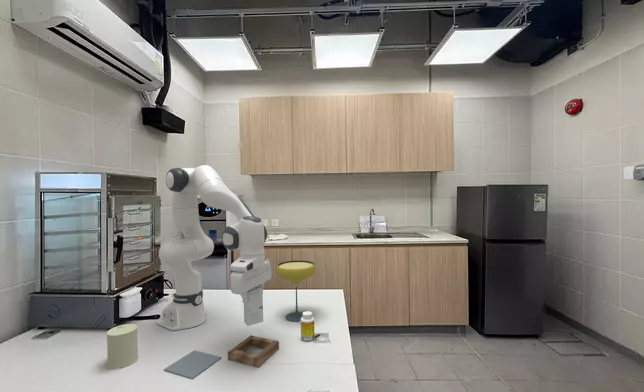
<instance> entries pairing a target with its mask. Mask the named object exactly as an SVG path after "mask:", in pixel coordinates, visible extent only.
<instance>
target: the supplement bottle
mask: <svg viewBox="0 0 644 392" xmlns="http://www.w3.org/2000/svg"><path fill="white" fill-rule="evenodd" d="M302 312H303V316H302V318H301V321H300V339H301V340H302V341H305V342H310V341H313V340H314V339H315V317H314V316H313V312H312V311H302Z"/></svg>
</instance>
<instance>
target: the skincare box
mask: <svg viewBox="0 0 644 392" xmlns="http://www.w3.org/2000/svg"><path fill="white" fill-rule="evenodd" d="M263 294H264V291H263V292H262V289H261V288H260V287H259V286H256V287H254V288H252V289H250V290H248V291H247V294H246V295H247V297H249V302H248V303H243V320H244V323H245V325H246V326H248V327H249V326H253V325H256V324H260V323H263V322H264V300H263V299H264V298H263V297H264V296H263Z"/></svg>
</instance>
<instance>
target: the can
mask: <svg viewBox="0 0 644 392" xmlns="http://www.w3.org/2000/svg"><path fill="white" fill-rule="evenodd" d="M106 345H107V346H106V351H107V360H106V361H107V364H106V367H107V368H108V369H109V370H118V369H117V368H120V369H123V368H122V367H124V368H126V366H127V367H130V366H131V365H133V364H134V363H136V362H137V361H138V359H139V353H138V324H136V323H126V324H121V325H117V326H114V327H112V328H110V329H109V330H108V331H106Z"/></svg>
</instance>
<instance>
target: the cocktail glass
mask: <svg viewBox="0 0 644 392" xmlns="http://www.w3.org/2000/svg"><path fill="white" fill-rule="evenodd" d="M315 271H316V265H315V263H314V262H312V261H310V260H309V261H308V260H289V261H282V262H280V263H278V264H277V265H276V272H277V275H278V276H279V277H280V278H282V279H283V280H286V281H289V282H291V283H292V285H293V286H294V287H295V310H294V311H292V312H290V313H288V314H286V315H285V320H286V321H288V322H295V323H297V322H301V318H302V316H303V312H304V311H299V307H298V286H299V285H301V283H302V282H303V281H305V280H307V279H308V278H310V277H312V275H314V274H315Z"/></svg>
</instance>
